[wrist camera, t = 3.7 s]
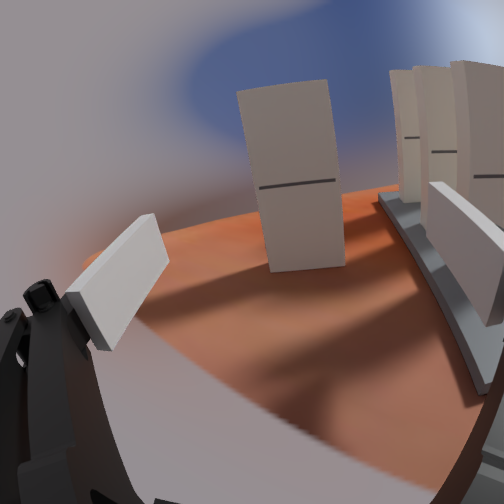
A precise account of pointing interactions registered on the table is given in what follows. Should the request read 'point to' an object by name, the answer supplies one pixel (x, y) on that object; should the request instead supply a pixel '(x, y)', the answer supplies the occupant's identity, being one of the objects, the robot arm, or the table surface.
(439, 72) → the domino
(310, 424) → the table surface
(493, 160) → the domino
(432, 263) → the board
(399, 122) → the domino
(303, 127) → the domino
